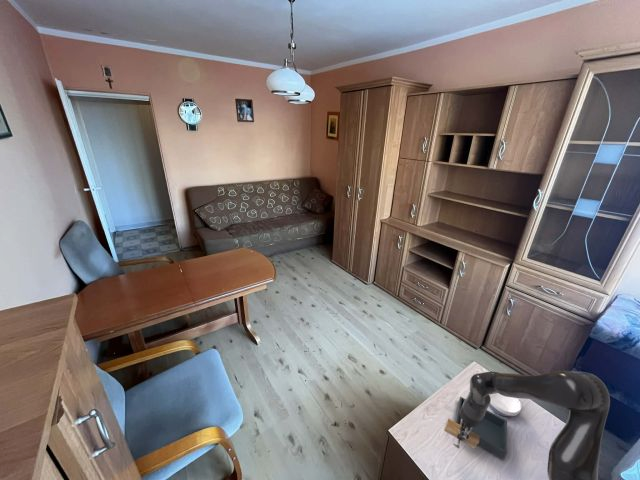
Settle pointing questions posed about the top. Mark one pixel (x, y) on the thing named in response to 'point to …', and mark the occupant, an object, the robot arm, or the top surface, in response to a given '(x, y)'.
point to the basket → (489, 431)
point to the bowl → (505, 405)
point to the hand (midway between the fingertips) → (460, 435)
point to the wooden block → (454, 430)
